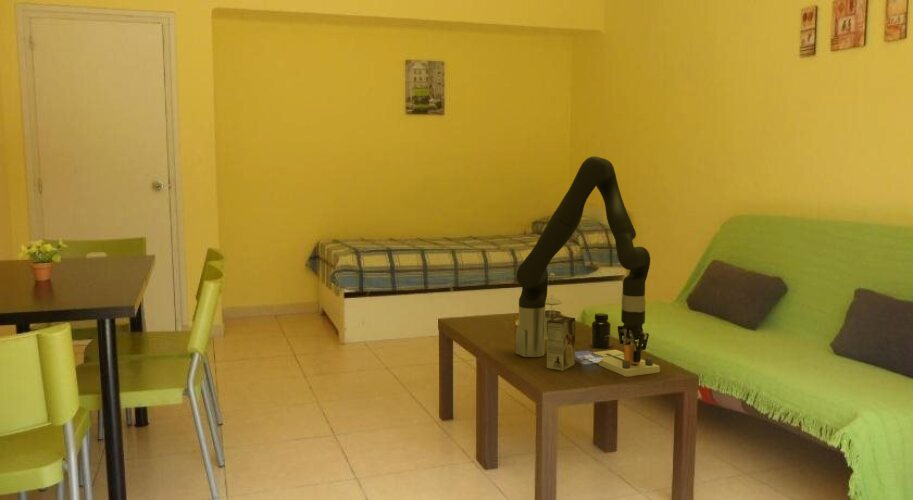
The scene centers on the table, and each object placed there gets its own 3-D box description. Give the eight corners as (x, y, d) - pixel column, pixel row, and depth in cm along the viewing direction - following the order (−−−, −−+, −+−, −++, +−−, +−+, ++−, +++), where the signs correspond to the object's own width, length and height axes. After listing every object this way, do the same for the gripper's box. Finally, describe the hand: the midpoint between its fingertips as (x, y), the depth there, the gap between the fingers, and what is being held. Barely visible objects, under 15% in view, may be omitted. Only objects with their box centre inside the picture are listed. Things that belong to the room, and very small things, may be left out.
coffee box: (557, 362, 262) (558, 315, 260) (575, 364, 259) (576, 317, 257) (546, 368, 255) (546, 320, 253) (563, 371, 251) (564, 322, 249)
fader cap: (628, 364, 250) (629, 346, 249) (624, 363, 253) (624, 344, 252) (639, 363, 252) (640, 345, 251) (635, 361, 254) (635, 343, 254)
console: (626, 376, 244) (626, 364, 244) (584, 359, 266) (584, 347, 266) (659, 372, 250) (660, 360, 249) (615, 355, 271) (616, 344, 271)
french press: (563, 334, 304) (564, 271, 301) (564, 341, 293) (565, 275, 290) (538, 333, 305) (539, 271, 302) (538, 340, 294) (539, 275, 291)
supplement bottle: (610, 349, 280) (610, 316, 279) (590, 348, 282) (591, 315, 280) (610, 344, 287) (610, 312, 286) (591, 343, 288) (592, 312, 287)
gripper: (610, 305, 255) (609, 356, 257) (637, 313, 242) (636, 366, 244) (629, 303, 258) (628, 354, 260) (656, 311, 245) (655, 364, 247)
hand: (632, 359), depth 252 cm, fingers open, 4 cm apart
